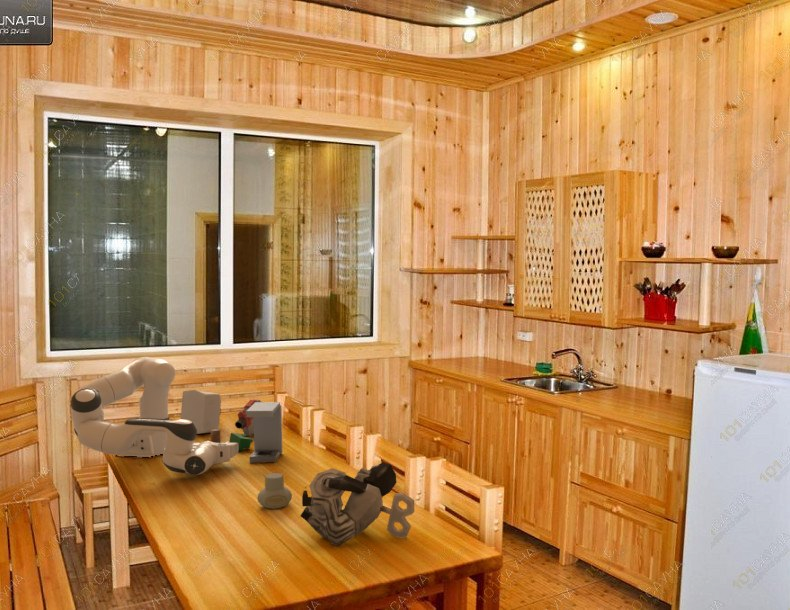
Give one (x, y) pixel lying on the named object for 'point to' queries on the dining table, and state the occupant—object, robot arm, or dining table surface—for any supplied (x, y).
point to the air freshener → (274, 492)
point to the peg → (216, 436)
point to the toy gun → (246, 419)
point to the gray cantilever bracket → (267, 425)
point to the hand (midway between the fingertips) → (216, 443)
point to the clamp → (241, 440)
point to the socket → (264, 456)
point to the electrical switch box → (201, 409)
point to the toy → (354, 503)
